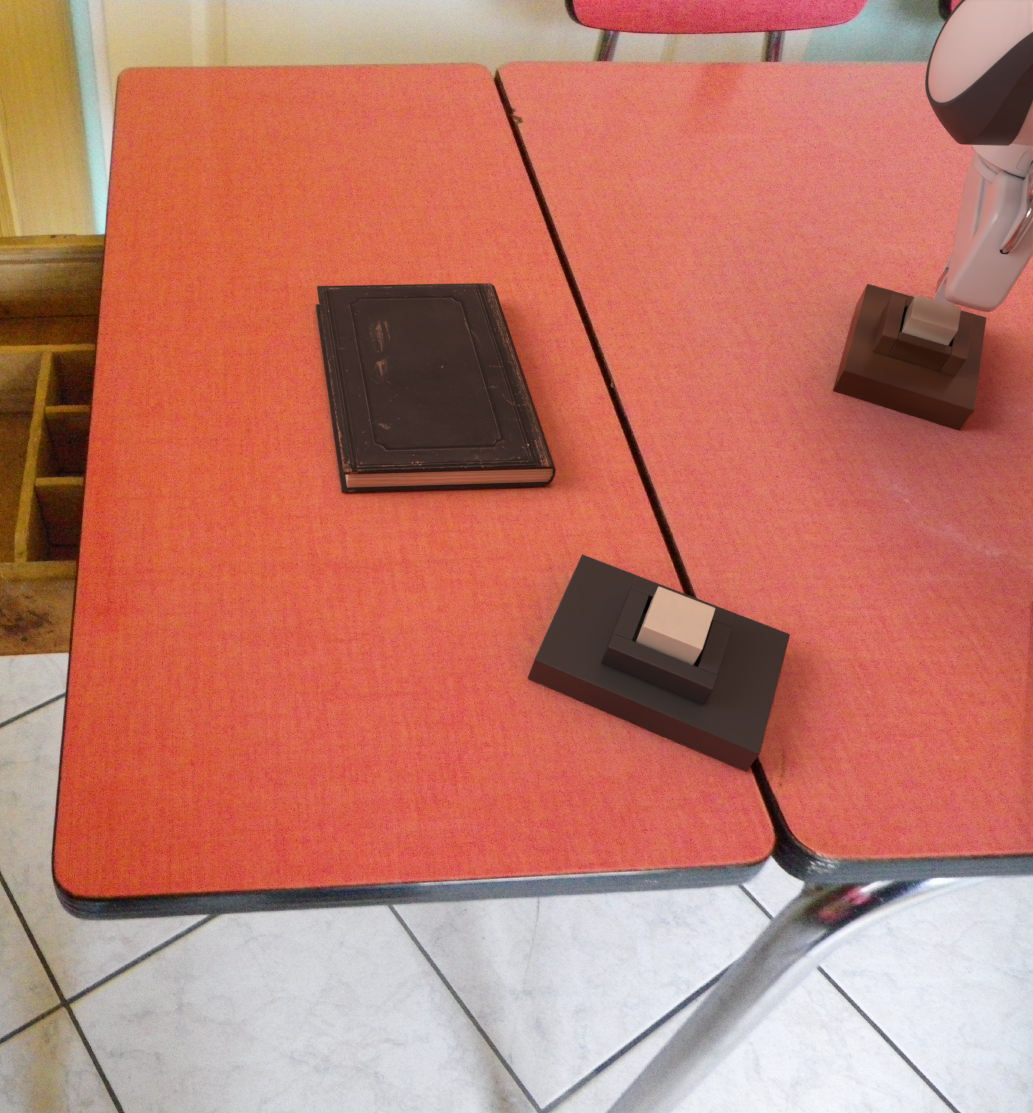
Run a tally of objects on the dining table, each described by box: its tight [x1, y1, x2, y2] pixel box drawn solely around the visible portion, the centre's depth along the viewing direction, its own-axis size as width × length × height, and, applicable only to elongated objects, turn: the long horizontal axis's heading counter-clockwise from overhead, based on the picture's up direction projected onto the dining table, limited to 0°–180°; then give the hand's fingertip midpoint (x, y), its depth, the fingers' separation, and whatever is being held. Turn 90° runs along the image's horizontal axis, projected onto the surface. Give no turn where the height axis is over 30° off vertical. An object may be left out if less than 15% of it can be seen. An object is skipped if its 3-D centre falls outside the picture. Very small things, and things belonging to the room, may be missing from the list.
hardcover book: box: [315, 282, 557, 494], centre depth 83 cm, size 16×23×2 cm
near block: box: [527, 554, 791, 772], centre depth 65 cm, size 14×10×4 cm
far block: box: [832, 283, 987, 431], centre depth 87 cm, size 14×10×4 cm
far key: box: [902, 294, 962, 346], centre depth 85 cm, size 4×4×2 cm
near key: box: [636, 587, 715, 665], centre depth 63 cm, size 4×4×2 cm
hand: (945, 294), depth 83 cm, fingers closed
